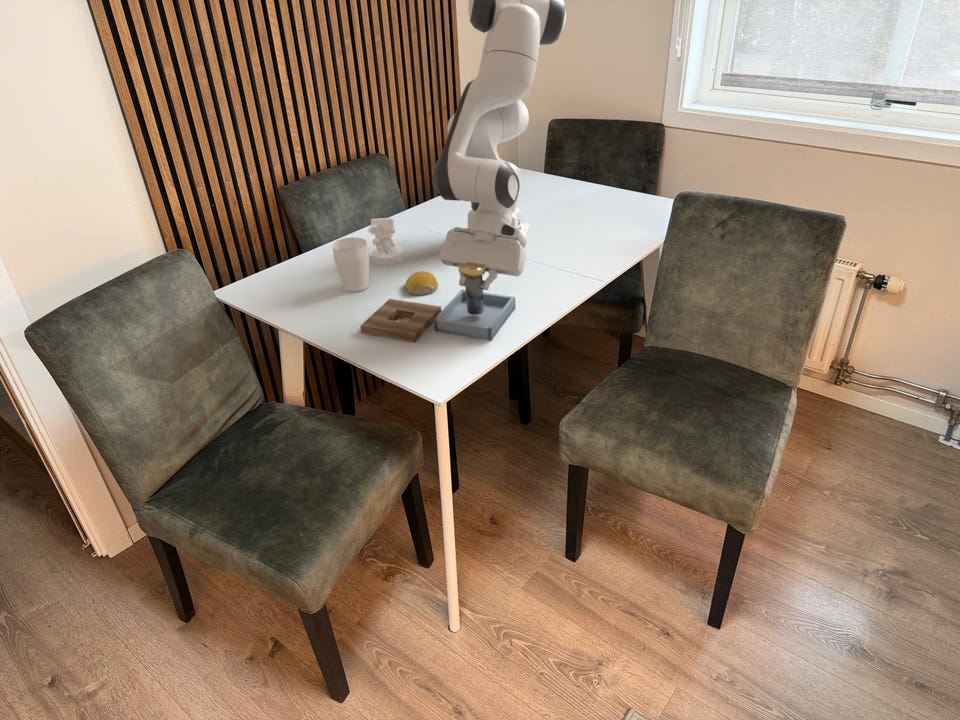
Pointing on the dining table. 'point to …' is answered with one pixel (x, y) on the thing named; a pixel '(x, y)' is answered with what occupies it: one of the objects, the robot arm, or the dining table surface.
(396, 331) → the socket block
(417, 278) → the bread roll
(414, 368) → the dining table surface
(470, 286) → the pin
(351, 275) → the cup
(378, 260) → the character figurine
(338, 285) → the dining table surface
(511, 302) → the tray
